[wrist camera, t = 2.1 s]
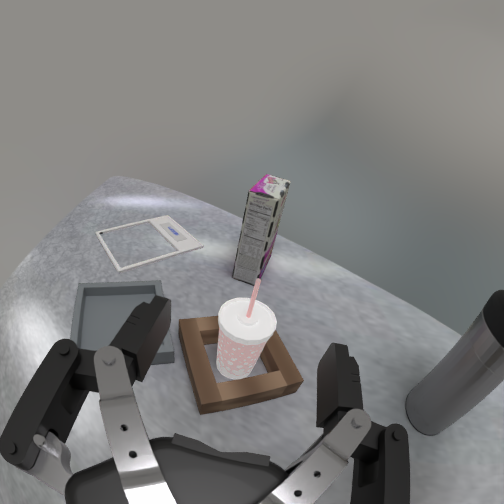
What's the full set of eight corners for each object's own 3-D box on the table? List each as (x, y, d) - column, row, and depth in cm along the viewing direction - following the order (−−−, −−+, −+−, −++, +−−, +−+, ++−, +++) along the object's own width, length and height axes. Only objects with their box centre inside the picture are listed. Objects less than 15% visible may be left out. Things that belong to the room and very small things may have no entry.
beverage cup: (247, 392, 29) (280, 313, 22) (201, 370, 30) (213, 284, 23) (264, 357, 34) (297, 275, 27) (223, 339, 35) (241, 253, 28)
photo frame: (203, 244, 53) (118, 270, 41) (203, 249, 53) (118, 275, 41) (168, 214, 61) (95, 231, 49) (167, 218, 61) (95, 235, 49)
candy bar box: (247, 248, 56) (265, 172, 48) (271, 256, 56) (292, 180, 47) (229, 278, 47) (247, 188, 38) (256, 287, 46) (281, 198, 38)
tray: (161, 292, 40) (161, 280, 39) (174, 362, 30) (173, 351, 29) (81, 295, 35) (78, 283, 34) (74, 367, 25) (68, 355, 24)
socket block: (260, 324, 39) (264, 310, 37) (295, 392, 30) (303, 380, 28) (178, 334, 34) (179, 319, 33) (200, 414, 25) (201, 404, 24)
